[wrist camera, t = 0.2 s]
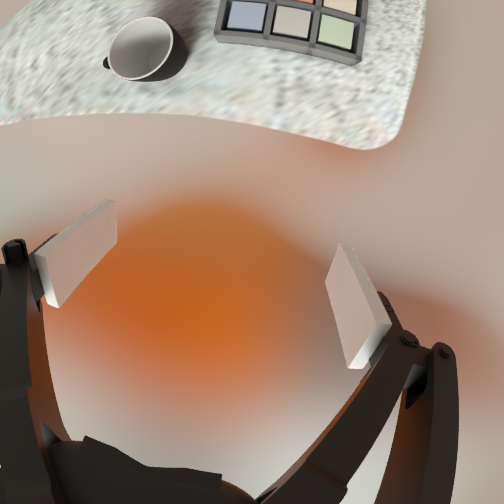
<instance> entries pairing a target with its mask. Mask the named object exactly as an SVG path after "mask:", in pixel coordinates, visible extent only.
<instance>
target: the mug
mask: <svg viewBox="0 0 504 504" xmlns="http://www.w3.org/2000/svg"><path fill="white" fill-rule="evenodd" d="M186 59H187V49H186V46H185V43H184V41H183V40H182V38H181V36H180V35H179V34H178V33H177V31H176V30H175V29H174V28H173V27H172V26H171V25H170V24H169V23H167V22H166V21H165V20H163V19H161V18H158V17H154V16H145V17H140V18H137V19H134V20H132V21H130V22H128V23H127V24H126V25H124V26H123V27H122V28H121V29H120V30H119V31H118V32H117V33H116V35H115V36H114V37H113V39H112V41H111V43H110V46H109V49H108V57H106V58H105V59H104V61H103V66H104V67H105V68H107V69H111V70H112V71H113V73H114V74H115V75H117V76H118V77H120V78H122V79H125V80H130V81H141V82H151V81H161V80H165V79H168V78H171V77H173V76H174V75H176V74H177V73H178V72H179V71H180V70H181V69H182V68H183V66H184V65H185V62H186Z"/></svg>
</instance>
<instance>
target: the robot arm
mask: <svg viewBox="0 0 504 504" xmlns="http://www.w3.org/2000/svg"><path fill="white" fill-rule="evenodd" d="M116 243H117V224H116V201H112V200H104V201H103V202H101V203H99V204H98V205H97V206H95V207H94V208H92V209H91V210H90V211H88V212H87V213H85V214H84V215H82V216H81V217H80V218H78V219H77V220H75V221H74V222H73V223H71V224H70V225H69V226H67V227H66V228H65V229H63V230H62V231H61V232H59V233H57V234H55V235H53V236H51V237H50V238H49V239H48V240H47V241H45V242H44V243H43V244H42V245H40V246H39V247H38V248H37V249H35V250H34V251H33V252H32V253H30V254H29V255H28V253H27V248H26V243H25V241H24V240H23V239H14V240H11V241H9V242H7V243H5V245H3V247H2V253H3V257H4V260H5V264H0V465H1V468H0V504H339V503H340V502H341V501H342V499H343V498H344V496H345V495H346V493H347V490H348V489H347V483H348V482H349V480H350V479H351V478H352V476H353V475H354V473H355V472H356V470H357V469H358V468H359V466H360V464H361V463H362V461H363V460H364V458H365V457H366V455H367V454H368V452H369V451H370V449H371V447H372V446H373V444H374V442H375V441H376V439H377V437H378V436H379V434H380V432H381V430H382V428H383V427H384V425H385V423H386V421H387V419H388V418H389V416H390V414H391V412H392V410H393V408H394V406H395V404H396V402H397V400H398V398H399V395H400V394H401V391H402V397H401V404H400V409H399V415H398V420H397V425H396V430H395V434H394V439H393V443H392V448H391V451H390V455H389V459H388V462H387V466H386V470H385V473H384V476H383V479H382V482H381V486H380V489H379V491H378V494H377V497H376V500H375V503H374V504H450V502H451V496H452V491H453V485H454V478H455V471H456V462H457V451H458V434H459V433H458V432H459V398H458V380H457V367H456V358H455V354H454V352H453V350H452V349H451V347H449V346H448V345H446V344H444V343H441V342H437V343H436V344H434V346H433V347H432V348H431V349H428V348H425V347H422V346H420V344H419V341H418V339H417V338H416V336H415V335H413V334H412V333H410V332H409V331H407V330H403V328H402V326H401V324H400V322H399V320H398V318H397V316H396V314H395V313H394V310H393V308H392V307H391V304H390V302H389V301H388V299H387V298H386V296H384V294H383V293H382V292H378V291H376V290H375V288H374V286H373V284H372V282H371V280H370V278H369V276H368V274H367V272H366V270H365V268H364V267H363V265H362V263H361V261H360V259H359V257H358V256H357V254H356V252H355V250H354V248H353V247H352V245H350V244H345V243H341V242H340V243H339V246H338V248H337V251H336V254H335V257H334V259H333V262H332V265H331V267H330V270H329V273H328V275H327V278H326V281H325V283H326V287H327V290H328V294H329V298H330V301H331V305H332V308H333V312H334V316H335V320H336V323H337V327H338V331H339V335H340V339H341V343H342V347H343V351H344V355H345V359H346V364H347V368H353V369H354V368H355V369H363V367H364V366H365V365H366V363H367V362H368V361H369V362H370V365H371V368H370V369H369V370H368V372H367V373H366V374H365V376H364V377H363V378H362V380H361V381H360V384H359V385H358V387H357V388H356V389H355V391H354V392H353V394H352V395H351V396H350V398H349V399H348V401H347V402H346V403H345V405H344V406H343V407H342V409H341V410H340V411H339V413H338V414H337V415H336V416H335V418H334V419H333V420H332V421H331V423H330V424H329V425H328V426H327V427H326V429H325V430H324V431H323V432H322V433H321V435H320V436H319V437H318V438H317V439H316V441H315V442H314V443H313V444H312V445H311V446H310V447H309V448H308V449H307V451H306V452H305V453H304V454H303V455H302V456H301V457H300V458H299V459H298V460H297V461H296V462H295V463H294V464H293V466H291V467H290V468H289V469H288V470H287V472H285V473H284V474H283V475H282V476H281V477H280V478H279V479H278V480H277V481H276V482H275V483H274V484H272V485H271V486H270V487H269V488H268V489H267V490H266V491H264V492H263V493H262V494H261V495H259V496H258V497H257V498H256V499H255V500H254V499H253V498H252V497H251V496H250V495H249V494H248V493H246V492H245V491H244V490H242V489H240V488H238V487H237V486H235V485H233V484H231V483H229V482H226V481H223V480H221V478H222V474H217V473H211V472H205V471H199V470H194V469H189V468H161V467H148V466H145V465H143V464H141V463H140V462H138V461H136V460H134V459H133V458H131V457H129V456H128V455H126V454H124V453H123V452H121V451H120V450H118V449H117V448H115V447H112V446H110V445H107V444H105V443H102V442H100V441H97V440H95V439H92V438H90V437H88V436H85V437H84V439H83V441H71V439H70V437H69V435H68V433H67V431H66V430H65V428H64V425H63V422H62V419H61V416H60V412H59V408H58V404H57V401H56V397H55V392H54V388H53V383H52V378H51V373H50V368H49V362H48V355H47V349H46V341H45V332H44V322H43V309H42V302H41V300H40V299H41V297H42V296H43V295H44V294H45V297H46V300H47V303H48V304H49V305H52V306H54V307H57V308H60V306H61V305H62V304H63V303H64V301H65V300H66V299H67V298H68V297H69V295H70V294H71V293H72V292H73V290H74V289H75V288H76V287H77V286H78V285H79V284H80V282H81V281H82V280H83V279H84V278H85V277H86V276H87V274H88V273H89V272H90V271H91V270H92V269H93V268H94V266H96V264H97V263H98V262H99V261H100V260H101V259H102V258H103V257H104V256H105V255H106V253H108V251H109V250H110V249H111V248H112V247H113V246H114V245H115V244H116ZM402 389H403V390H402Z"/></svg>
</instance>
